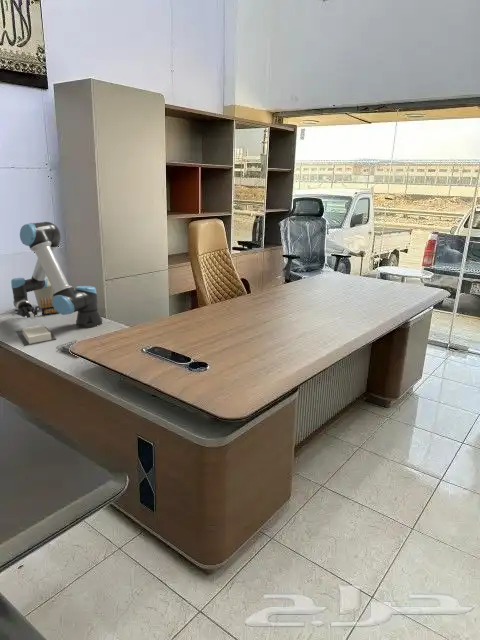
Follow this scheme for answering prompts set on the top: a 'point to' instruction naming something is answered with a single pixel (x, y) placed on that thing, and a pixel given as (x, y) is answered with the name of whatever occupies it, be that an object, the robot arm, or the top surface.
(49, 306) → the ammunition clip
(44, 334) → the book
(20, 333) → the desk pad
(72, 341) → the graphics card
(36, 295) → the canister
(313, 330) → the top surface
